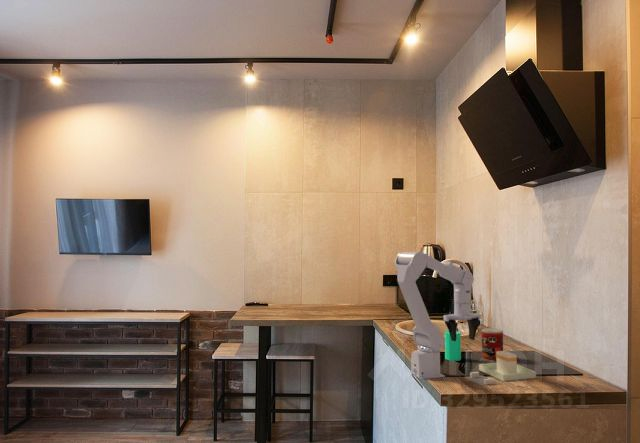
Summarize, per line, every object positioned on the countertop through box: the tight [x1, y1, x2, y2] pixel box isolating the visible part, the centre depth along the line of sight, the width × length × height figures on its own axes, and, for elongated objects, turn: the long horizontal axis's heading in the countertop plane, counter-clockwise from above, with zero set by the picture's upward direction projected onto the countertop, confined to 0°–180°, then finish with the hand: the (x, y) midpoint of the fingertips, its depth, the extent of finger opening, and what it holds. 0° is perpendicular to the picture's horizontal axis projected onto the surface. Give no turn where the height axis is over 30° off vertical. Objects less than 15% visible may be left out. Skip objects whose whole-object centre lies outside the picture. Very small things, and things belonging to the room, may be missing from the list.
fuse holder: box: [464, 371, 500, 387], centre depth 147 cm, size 7×9×2 cm
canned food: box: [481, 327, 504, 361], centre depth 178 cm, size 8×8×11 cm
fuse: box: [495, 350, 518, 374], centre depth 155 cm, size 4×6×7 cm, turn 16°
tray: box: [478, 362, 537, 382], centre depth 155 cm, size 13×13×2 cm
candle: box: [444, 330, 462, 362], centre depth 176 cm, size 6×6×12 cm
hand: (462, 339), depth 163 cm, fingers open, 7 cm apart
